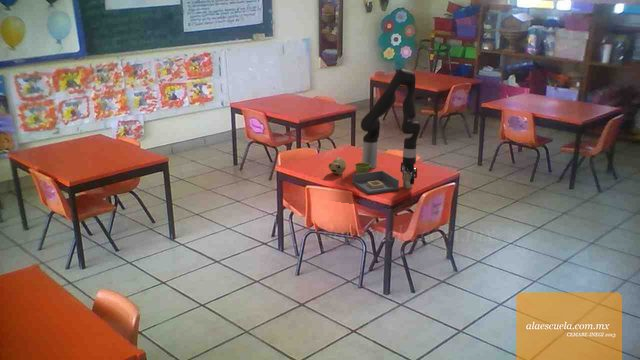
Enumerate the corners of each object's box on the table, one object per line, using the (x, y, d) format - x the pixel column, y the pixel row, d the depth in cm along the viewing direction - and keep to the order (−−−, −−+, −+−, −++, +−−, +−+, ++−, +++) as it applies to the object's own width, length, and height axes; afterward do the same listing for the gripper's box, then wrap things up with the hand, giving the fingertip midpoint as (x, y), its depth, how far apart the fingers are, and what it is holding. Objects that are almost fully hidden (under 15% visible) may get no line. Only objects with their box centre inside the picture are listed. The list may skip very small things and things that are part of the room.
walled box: (352, 184, 355) (352, 174, 353) (382, 179, 363) (382, 170, 361) (368, 194, 338) (368, 184, 336) (399, 190, 346) (399, 180, 344)
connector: (402, 186, 351) (403, 172, 348) (408, 186, 352) (409, 171, 349) (406, 189, 347) (407, 174, 344) (412, 188, 349) (413, 173, 346)
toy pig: (325, 176, 369) (325, 159, 366) (333, 170, 379) (334, 154, 376) (340, 178, 365) (340, 161, 362) (348, 172, 375) (348, 156, 372)
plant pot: (351, 178, 365) (351, 164, 362) (361, 174, 372) (362, 161, 369) (362, 182, 359) (363, 168, 356) (373, 178, 365) (373, 164, 362)
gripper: (421, 158, 339) (420, 184, 344) (408, 151, 351) (407, 177, 356) (410, 159, 336) (409, 186, 341) (397, 152, 348) (396, 179, 354)
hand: (408, 182), depth 349 cm, fingers open, 8 cm apart
